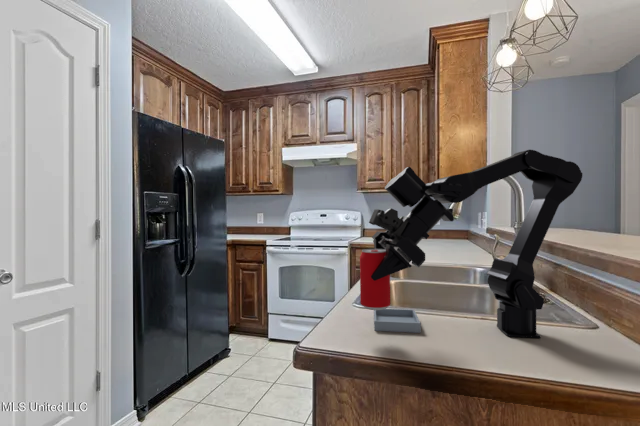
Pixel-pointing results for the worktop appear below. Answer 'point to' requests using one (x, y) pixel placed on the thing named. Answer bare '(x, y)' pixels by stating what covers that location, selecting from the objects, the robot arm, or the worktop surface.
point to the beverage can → (371, 291)
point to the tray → (396, 320)
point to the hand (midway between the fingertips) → (368, 275)
